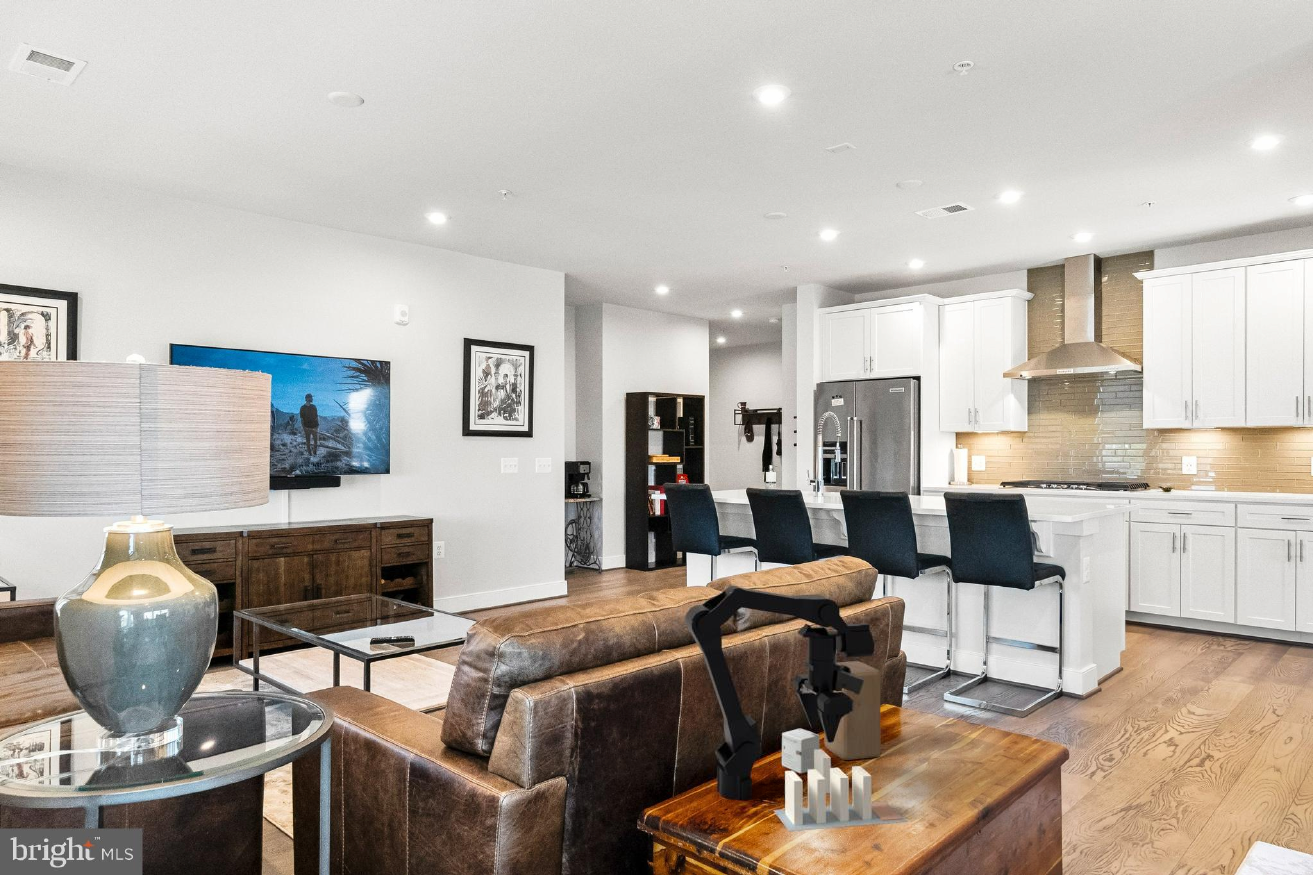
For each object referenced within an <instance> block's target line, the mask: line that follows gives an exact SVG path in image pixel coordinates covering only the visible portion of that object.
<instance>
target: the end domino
mask: <svg viewBox="0 0 1313 875" xmlns="http://www.w3.org/2000/svg"><path fill="white" fill-rule="evenodd" d="M831 758H832V757H830V756H829V755H828V754H827V752H826V751H824V750H823V749H822V748H819V749H816V750H814V769H816V770H817V771H818V772H819V773H820V774H821V775H822V776H823V777H824V778H825V779H826V794H830V768H832V763H831V762H832V761H831Z"/></svg>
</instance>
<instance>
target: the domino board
mask: <svg viewBox="0 0 1313 875" xmlns="http://www.w3.org/2000/svg"><path fill="white" fill-rule="evenodd" d="M773 812H774V813H775V815H776V816H777V817H778V818H779V820H780V821H781V822H782V824H783V825H784V827H785V828H786V829H787V830H788V832H796V831H805V830H806V831H808V830H809V831H810V830H811V831H812V830H820V829H821V830H822V829H834V828H844V827H845V828H847V827H857V826H858V827H859V826H870V825H880V824H881V825H883V824H895V823H908V820H907V819H906V818H904V817H903V816H902V815H901V814H900V813H899V812H898V811H897V810H896V809H895V808H894V807H892V806H891V805H890V804H889V803H888V802H887V801H878V802H877V801H875V802H871V812H872V819H869V820H863V819H862V818H861V817H860V816H859V815H858V814H857V813H856V812H855V811H854V810H853V809H852V803H851V804H850V803H849V821H844V822H840V820H839V819H838V818H837V817H836V816H835V815H834V814H833V813H832V812H831V811H830V805H826V823H819V824H818V823H817V822H816V821H815V820H814V819H813V818H812V816H811V815H810V814H809V813H808V807H803V825H794V824H793V823H792V822H791V821H790V819H789V818H788V817H787V815H786V814H785V808H783V809H773Z"/></svg>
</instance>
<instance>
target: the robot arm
mask: <svg viewBox="0 0 1313 875" xmlns="http://www.w3.org/2000/svg"><path fill="white" fill-rule="evenodd" d="M741 609H748V610H755V611H760V612H767V613H774V614H779V615H786V616H792V617H795V618H798V619H802V620H804V621H806V622H808V623H811V624H814V625H817V627H812V626H811V625H810V624H808V623H805V624H804V625H803V626H802V627H801V628H800V629H799V630H798V631H797V634H798V635H799V636H801V637H803V638H805V639H807V660H804V666H805V667H806V668H807V673H805V674H804V673H802V674H799V673H798V674H796V675H795V676H794V677H793V678H792V688H793V689H794V690H795V694H796V695H797V697H798V700H799V702H800V704H801V707H802V709H803V712H804V713H805V715H806V718H807V720H808V724H809V725H810V728H811V729H814V728H817V726H818V721H819V720H818V719H820V723H821V725H822V728H823V732H825V736H826V738H827V741H828V742H829V743H831V742H834V739H835V735H836V732H837V729H838V726H839V723H840V720H841V718H842V717H843V716H844V715H846V714H849V713H850V712H852V711H854V701H853V700H852V699H851V698H850V697H849V696H848V695H846V694H845V693H843V692H834V691H842V688H843V689H846V690H849V691H852V692H854V693H855V694H858V695H860V692H861V689H862V686H863V683H864V680H863V679H862V678H860V677H858V676H857V675H854V674H853V673H851V670H850V668H849V667H847V666H845V665H842V664H841V665H838V664H837V653H840V655H841V656H842V658H864V657H865V658H866V657H867V658H868V657H872V656H873V654H874V653H875V652H874V651H875V641H874V638H873V635H872V632H871V630H870V629H871V628H870V624H869V623H866V622H859V623H847V622H846V621H845V620H844V618H843V617H842V616H841V613H840V612H841V611H840V607H839V605H838V604H837V601H834V600H833V599H830V597H829V598H828V597H826V596H824V595H821V594H801V595H786V594H782V593H775V592H769V591H764V590H763V591H762V590H759V589H758V590H757V589H752V588H751V589H750V588H745V587H740V586H738V585H730V586H729V587H727V588H726V589H725V590H723V591H722V592H721V593H718V594H716V595H714V596H713V597H711V598H709V599H708V600H705V602H703V603H702V604H696V605H694V606H692V607H690V608H689V609H688V610H687V612H686V615H685V618H684V620H685V624H686V627H687V629H688V630H689V631H690V632H689V633H690V634H691V636H692V638H693V639H694V641H695V643H696V644H697V646H698V648H699V649H700V651H701V653H702V656H703V659H704V662H705V665H706V668H707V672H708V673H709V677H710V680H711V683H712V686H713V689H714V691H715V695H716V698H717V701H718V704H719V707H720V710H721V713H722V717H723V733H724V741H723V742H722V743H721V744H720V745H719V746H717V748H716V749H715V751H714V753H715V756H716V759H717V761H718V762H719V764H717V765H716V767H717V768H716V779H717V781H716V782H717V783H716V792H717V794H718V793H719V795H720V796H721V797H722V798H724V799H727V800H732V801H740V802H746V801H749V800H750V799H752V798H753V778H752V777H751V776H752V775H751V774H752V770H753V768H754V764H755V763H756V762H757V760H758V759H759V758H760V756H761V754H762V752H763V751H762V744H764V741H763V739H762V738H761V737H760V732H759V727H758V723H757V722H756V721H755V720H754V719H753V717H751V715H750V714H748V715H745V714H744V712H743V709H742V705H741V703H740V700H739V696H738V694H737V690H736V688H735V687H736V686H735V685H734V682H733V678H732V675H731V672H730V670H729V667H728V664H727V661H726V658H725V655H724V651H723V636H722V629H721V627H722V626H723V625H725V623H727V622H728V621H729V620H730V619H731V618H732V617H733V616H734V615H735V614H736V613H737V612H738V611H739V610H741ZM818 626H819V627H818ZM826 628H832V629H834V630H827V629H826Z"/></svg>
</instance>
